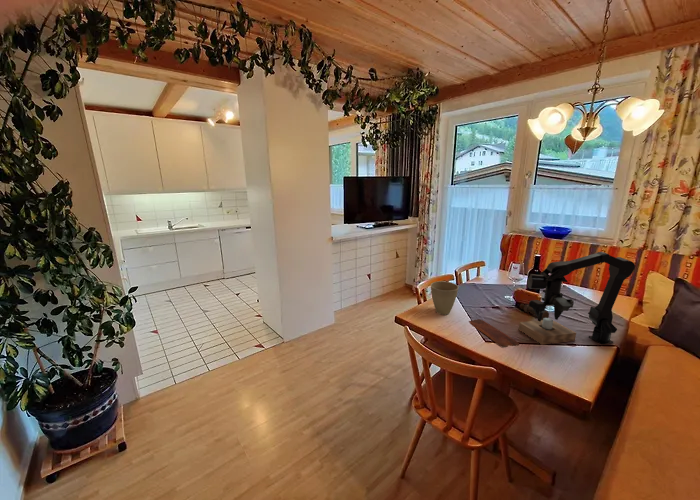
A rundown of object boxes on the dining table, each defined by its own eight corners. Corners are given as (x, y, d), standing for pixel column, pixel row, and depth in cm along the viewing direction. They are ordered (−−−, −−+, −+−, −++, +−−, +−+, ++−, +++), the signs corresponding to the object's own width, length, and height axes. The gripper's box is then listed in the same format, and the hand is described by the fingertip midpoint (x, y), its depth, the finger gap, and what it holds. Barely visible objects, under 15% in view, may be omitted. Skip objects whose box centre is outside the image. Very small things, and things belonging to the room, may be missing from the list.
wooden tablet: (520, 346, 131) (521, 343, 131) (502, 349, 129) (502, 346, 129) (481, 319, 157) (482, 316, 156) (465, 321, 154) (466, 318, 154)
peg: (545, 332, 142) (548, 317, 140) (552, 336, 138) (555, 321, 136) (538, 333, 141) (541, 318, 139) (545, 337, 137) (548, 322, 135)
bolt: (521, 311, 168) (545, 322, 154) (516, 308, 167) (540, 319, 153) (526, 303, 168) (550, 313, 154) (521, 299, 167) (545, 309, 152)
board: (549, 326, 148) (550, 319, 147) (574, 340, 134) (576, 332, 133) (518, 329, 145) (519, 322, 144) (541, 344, 131) (542, 336, 130)
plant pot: (434, 304, 175) (435, 279, 171) (459, 310, 167) (461, 284, 163) (425, 313, 163) (426, 287, 159) (451, 320, 155) (454, 292, 151)
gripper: (550, 298, 125) (544, 330, 128) (586, 294, 128) (580, 326, 132) (530, 288, 135) (525, 319, 139) (564, 285, 139) (558, 315, 142)
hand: (547, 320), depth 138 cm, fingers open, 9 cm apart
